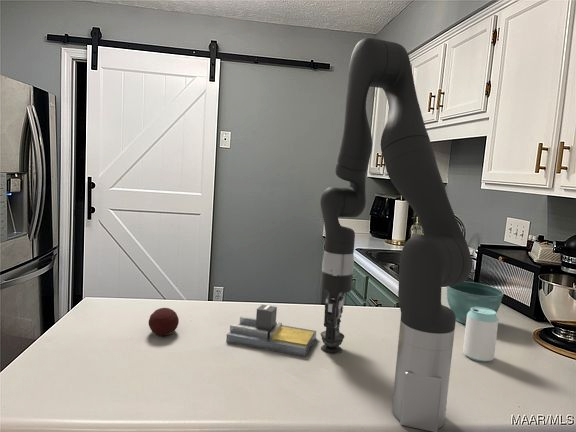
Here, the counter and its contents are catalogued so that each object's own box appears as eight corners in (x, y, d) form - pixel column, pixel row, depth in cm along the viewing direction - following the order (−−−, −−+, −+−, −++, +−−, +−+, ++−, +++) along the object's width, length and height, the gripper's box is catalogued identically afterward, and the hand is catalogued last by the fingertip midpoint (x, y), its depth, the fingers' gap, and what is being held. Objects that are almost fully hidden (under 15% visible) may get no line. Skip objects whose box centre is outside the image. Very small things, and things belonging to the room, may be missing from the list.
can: (475, 364, 99) (481, 315, 98) (456, 351, 106) (461, 306, 104) (500, 362, 101) (506, 314, 100) (479, 350, 107) (484, 305, 106)
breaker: (270, 335, 103) (271, 310, 102) (255, 332, 104) (256, 308, 104) (275, 329, 107) (276, 306, 106) (260, 326, 108) (262, 303, 107)
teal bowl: (511, 329, 125) (516, 294, 124) (470, 333, 119) (475, 297, 118) (470, 311, 140) (473, 280, 139) (432, 314, 134) (435, 282, 133)
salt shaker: (315, 350, 101) (319, 302, 100) (324, 342, 106) (328, 296, 105) (338, 356, 98) (342, 307, 97) (346, 348, 103) (350, 301, 102)
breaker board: (304, 356, 97) (305, 342, 96) (225, 342, 102) (226, 328, 102) (315, 338, 108) (316, 325, 108) (244, 325, 114) (244, 313, 113)
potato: (145, 340, 100) (146, 315, 100) (151, 325, 110) (152, 302, 110) (176, 340, 102) (177, 316, 101) (180, 325, 111) (180, 302, 111)
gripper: (327, 262, 108) (323, 325, 110) (315, 274, 94) (310, 345, 96) (356, 266, 106) (351, 329, 108) (348, 278, 92) (342, 351, 94)
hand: (332, 337), depth 102 cm, fingers closed on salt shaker, 6 cm apart
